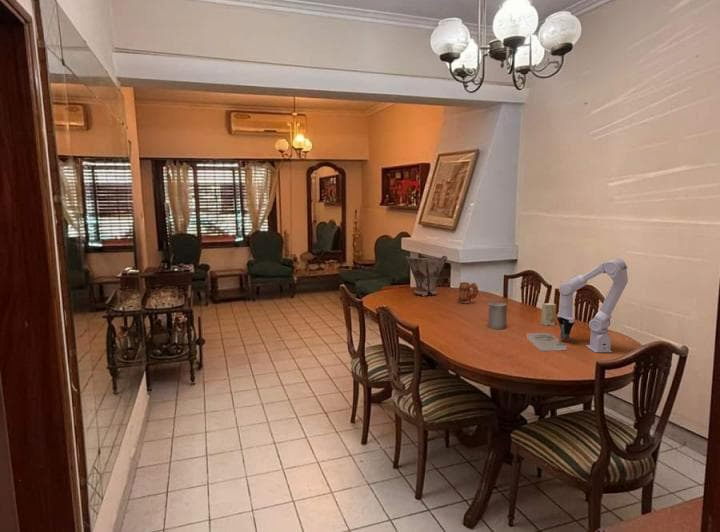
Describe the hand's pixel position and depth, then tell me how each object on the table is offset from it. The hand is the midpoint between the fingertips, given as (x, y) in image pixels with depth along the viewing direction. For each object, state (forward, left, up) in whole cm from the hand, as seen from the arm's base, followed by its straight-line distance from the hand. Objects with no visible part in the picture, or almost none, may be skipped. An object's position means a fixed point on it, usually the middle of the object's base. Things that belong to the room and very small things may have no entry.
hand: (565, 332), depth 229 cm
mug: (+83, +32, -5) cm, 89 cm away
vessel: (+113, +57, -5) cm, 127 cm away
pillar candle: (+26, +27, -5) cm, 38 cm away
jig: (-4, +11, -4) cm, 13 cm away
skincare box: (+30, -3, -5) cm, 31 cm away
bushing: (0, 0, -3) cm, 2 cm away
